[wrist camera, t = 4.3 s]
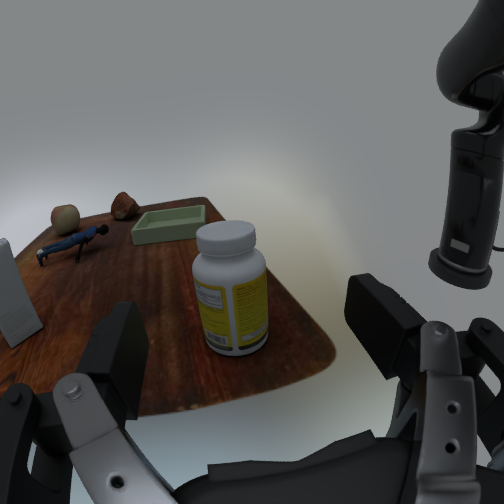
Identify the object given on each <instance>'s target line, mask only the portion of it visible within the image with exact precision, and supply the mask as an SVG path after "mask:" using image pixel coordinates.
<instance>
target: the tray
mask: <svg viewBox="0 0 504 504" xmlns="http://www.w3.org/2000/svg"><path fill="white" fill-rule="evenodd" d="M205 225H206V213H205V205H200V206H191V207H183V208H175V209H167V210H159V211H152V212H145V213H144V215H143V216H142V217H141V218H140V220H139V221H138V222H137V223H136V225H135V226H134V227H133V229H132V230H131V233H132V238H133V243H134V245H141V244H149V243H157V242H165V241H174V240H182V239H191V238H196V232H197V230H198V229H199V228H201V227H202V226H205Z"/></svg>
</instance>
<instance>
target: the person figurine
mask: <svg viewBox="0 0 504 504" xmlns="http://www.w3.org/2000/svg"><path fill="white" fill-rule="evenodd" d="M108 231H109V228H108V226H107V225H102V226H101V227H100V228H97V227H96V226H93V227H90V228H89V229H88V230H86V231H85V232H82V233H75V234H72V236H70V237H68V238H66V239H65V240H63V241H61V242H56V243H53V244H51V245H49V246H46V247H43V248H42V250H41V249H40V250H38V252H37V259H38V262H39V264H40V265H41V266H42V265H43V262H42V260H43V257H45V258H46V259H47V258H48V254H51V253H56V252H59V251H63V250H67V249H69V248H71V247H73V246H75V245H76V244H80V246H79V251H78V255H77V256H76V259H75V260H77V261H78V262H79V259H80V253H81V250H82V247H83V245H84V243H86V244H88V242H90V241H91V240H92V239H93V238H94V236H95V235H96V234H97V233H100V234H101V235H105V234H106V233H108ZM77 261H75V262H76V263H77Z"/></svg>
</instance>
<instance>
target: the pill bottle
mask: <svg viewBox="0 0 504 504" xmlns="http://www.w3.org/2000/svg"><path fill="white" fill-rule="evenodd" d="M196 238H197V246H198V250H199V251H200V254H199V255H198V256H197V257H196V259H195V260H194V262H193V266H192V271H193V278H194V283H195V289H196V294H197V299H198V304H199V310H200V315H201V320H202V325H203V330H204V334H205V338H206V341H207V343H208V345H209V346H210V347H211V348H212V349H213V350H214V351H216V352H218V353H220V354H223V355H228V356H241V355H246V354H250V353H252V352H254V351H256V350H257V349H259V348H260V347H261V346H262V345H263V344H264V343H265V341H266V339H267V336H268V304H267V278H266V263H265V259H264V257H263V255H262V253H261V252H260V251H259V250H257V249H256V248H254V246H255V244H256V234H255V227H254V226H253V225H252V224H251V223H249V222H244V221H220V222H215V223H210V224H207V225H205V226H202V227H201V228H199V229H198V230H197V232H196Z"/></svg>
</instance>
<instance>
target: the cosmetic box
mask: <svg viewBox="0 0 504 504" xmlns="http://www.w3.org/2000/svg"><path fill="white" fill-rule="evenodd" d="M41 328H43V325H42V324H41V322H40V320H39V318H38V316H37V313H36V311H35V309H34V307H33V305H32V303H31V300H30V298H29V296H28V293H27V291H26V288H25V286H24V284H23V281H22V278H21V276H20V273H19V270H18V268H17V265H16V262H15V260H14V257H13V254H12V251H11V248H10V244H9V242H8V240H6V239H5V238H2V239H0V330H1V332H2V333H3V335H4V337H5V339H6V340H7V342H8V344H9V346H10V347H11V348H13V347H15V346H16V345H18V344H19V343H20V342H22V341H23V340H25V339H26V338H28V337H29V336H31V335H32V334H34V333H35V332H37V331H38V330H40V329H41Z"/></svg>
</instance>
